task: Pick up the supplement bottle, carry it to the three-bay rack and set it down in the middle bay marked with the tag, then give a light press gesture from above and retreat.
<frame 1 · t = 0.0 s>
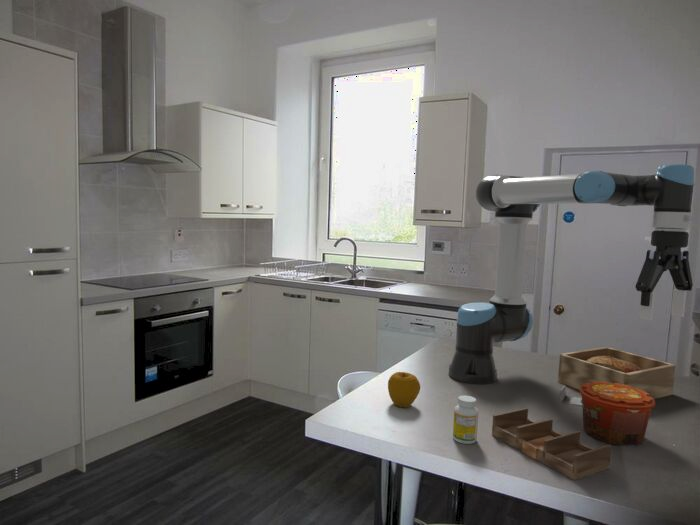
hand: (661, 317, 120), 28 cm above the table, fingers open, 13 cm apart
bread crate: (613, 387, 152), on the table
rack: (546, 450, 108), on the table
supplement bottle: (464, 440, 112), on the table
bread: (612, 387, 153), resting in bread crate
bracket: (578, 403, 140), on the table
apple: (402, 405, 132), on the table
food container: (612, 435, 118), on the table
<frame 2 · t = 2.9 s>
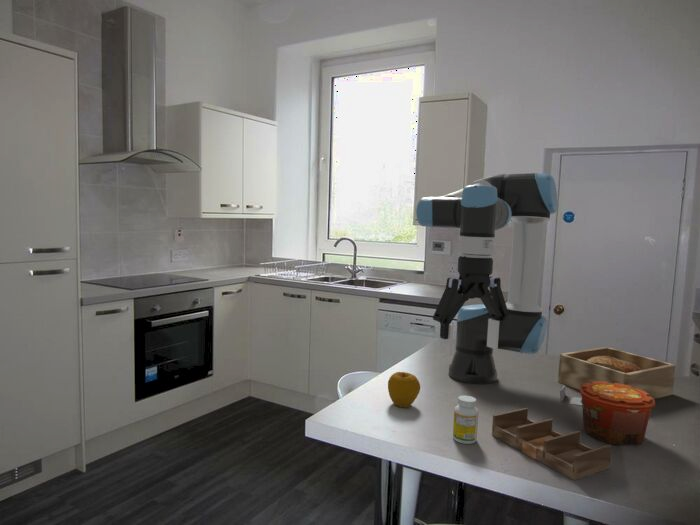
hand: (469, 350, 110), 21 cm above the table, fingers open, 13 cm apart
nothing on the table moved.
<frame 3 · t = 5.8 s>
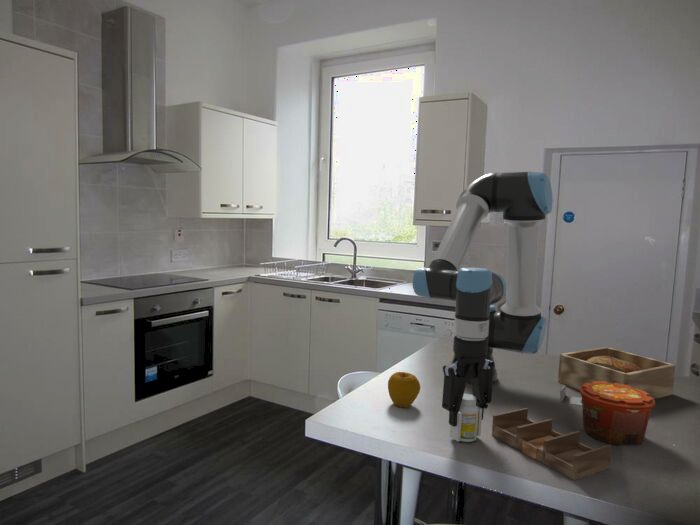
hand: (465, 435, 113), 1 cm above the table, fingers closed on supplement bottle, 5 cm apart
supplement bottle: (464, 438, 113), on the table, touching gripper
everything else where it was.
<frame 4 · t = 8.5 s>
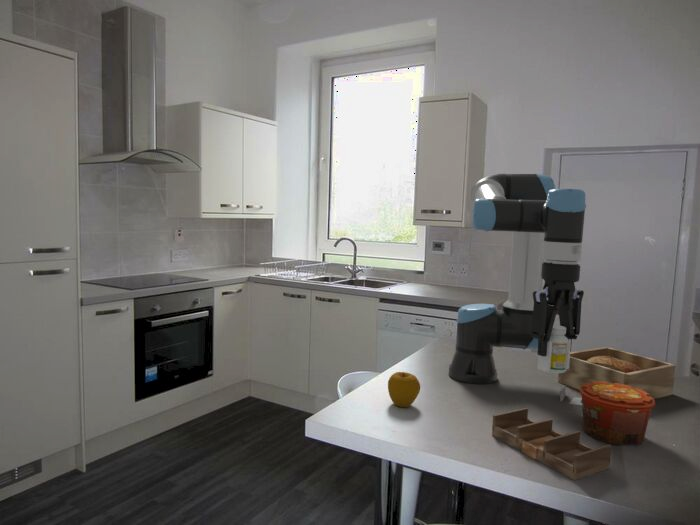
hand: (553, 368, 107), 18 cm above the table, fingers closed on supplement bottle, 5 cm apart
supplement bottle: (552, 370, 107), point 18 cm above the table, touching gripper
everything else where it was.
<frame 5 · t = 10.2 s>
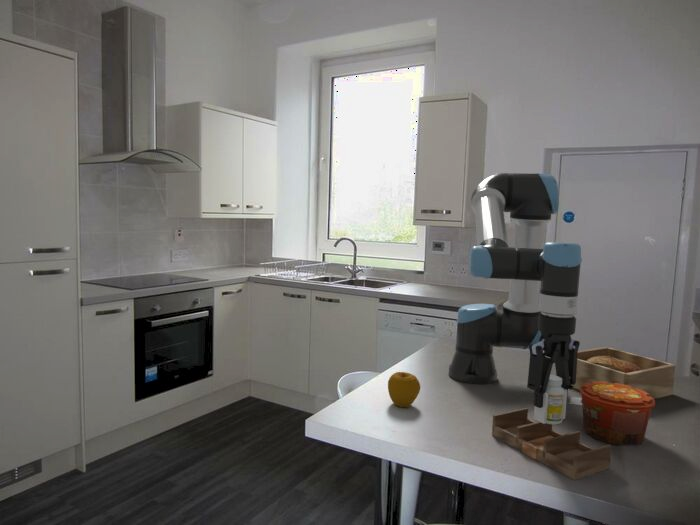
hand: (549, 418, 108), 7 cm above the table, fingers closed on supplement bottle, 5 cm apart
supplement bottle: (549, 420, 108), point 7 cm above the table, touching gripper
everything else where it was.
when the fingers open (4 cm above the table, at t = 11.3 s): supplement bottle drops 2 cm, resting on rack.
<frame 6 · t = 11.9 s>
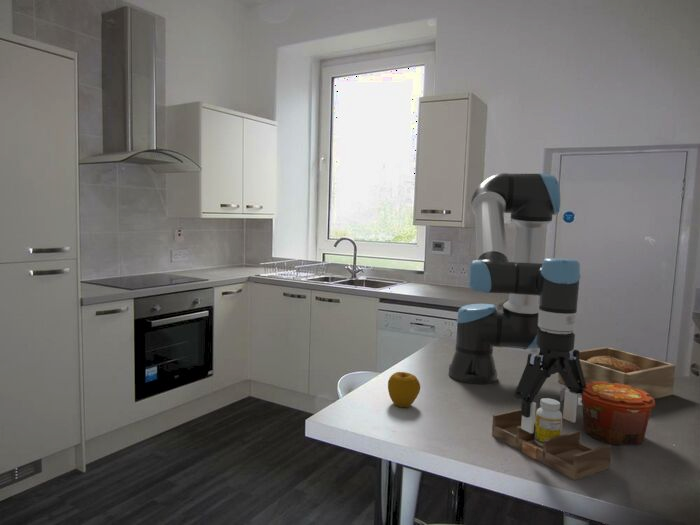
hand: (548, 425, 108), 6 cm above the table, fingers open, 13 cm apart
supplement bottle: (546, 444, 108), point 1 cm above the table, touching rack
everything else where it was.
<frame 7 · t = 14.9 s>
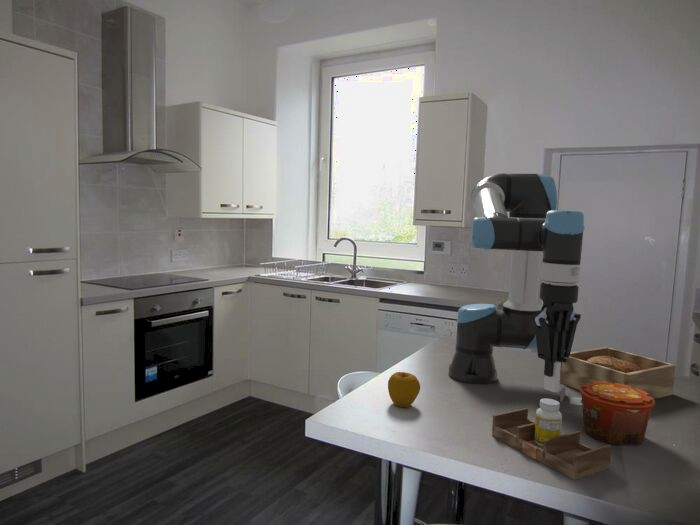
hand: (551, 389, 107), 14 cm above the table, fingers closed
nothing on the table moved.
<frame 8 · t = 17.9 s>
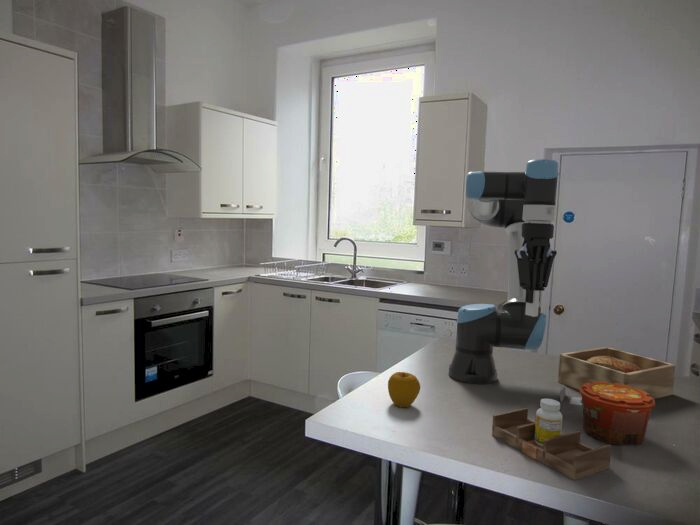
hand: (531, 315, 125), 26 cm above the table, fingers closed
nothing on the table moved.
at the end: supplement bottle 0.1 cm off-centre on the rack, point 1.2 cm above the rack's base; supplement bottle tilted 0°; the gripper is holding nothing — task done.
